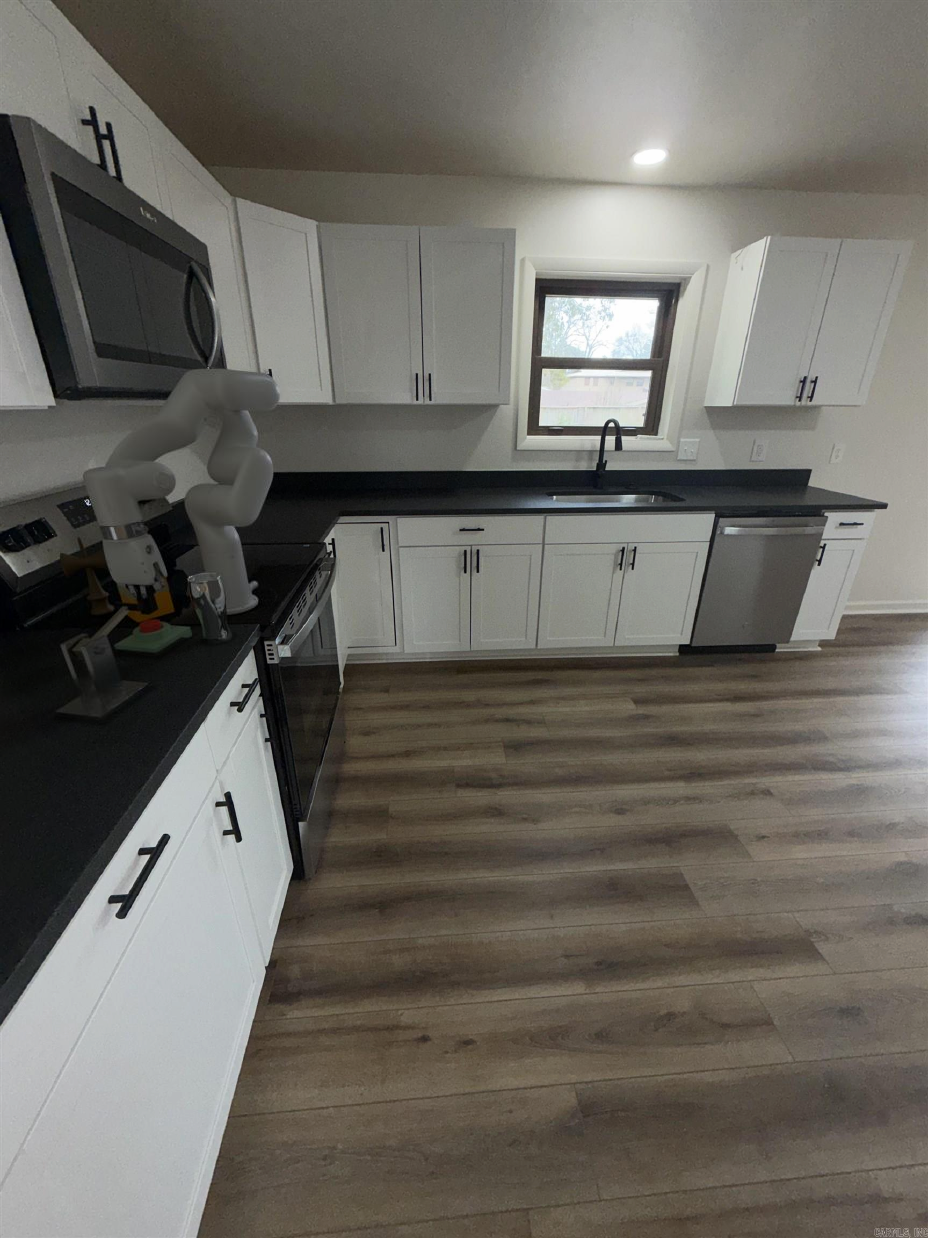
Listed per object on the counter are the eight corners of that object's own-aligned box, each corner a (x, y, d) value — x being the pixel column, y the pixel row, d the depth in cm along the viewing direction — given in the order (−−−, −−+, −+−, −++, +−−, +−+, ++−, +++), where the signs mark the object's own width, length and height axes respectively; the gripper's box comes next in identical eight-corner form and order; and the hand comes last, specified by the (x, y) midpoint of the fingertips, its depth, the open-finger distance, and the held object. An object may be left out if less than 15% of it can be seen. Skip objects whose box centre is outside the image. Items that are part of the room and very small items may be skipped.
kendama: (80, 613, 127) (53, 537, 118) (125, 605, 132) (102, 531, 123) (80, 621, 122) (52, 542, 114) (126, 612, 127) (102, 536, 119)
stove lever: (122, 607, 95) (115, 598, 93) (145, 609, 94) (138, 600, 92) (73, 658, 86) (64, 649, 84) (97, 661, 85) (89, 651, 83)
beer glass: (221, 646, 110) (207, 583, 104) (194, 644, 111) (178, 581, 105) (240, 633, 116) (228, 572, 110) (214, 630, 117) (200, 570, 111)
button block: (154, 632, 117) (149, 616, 115) (192, 635, 115) (188, 619, 113) (116, 654, 107) (111, 637, 105) (157, 657, 105) (152, 641, 104)
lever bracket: (109, 684, 96) (88, 624, 90) (150, 688, 94) (131, 628, 89) (57, 717, 86) (30, 652, 80) (102, 723, 84) (78, 657, 79)
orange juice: (175, 611, 127) (155, 535, 119) (137, 623, 121) (113, 543, 113) (162, 604, 132) (142, 530, 124) (125, 614, 126) (101, 537, 118)
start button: (150, 625, 112) (148, 618, 111) (166, 626, 111) (164, 619, 110) (136, 633, 108) (134, 625, 107) (153, 634, 107) (151, 627, 107)
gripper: (169, 526, 102) (192, 607, 111) (107, 524, 105) (133, 602, 113) (142, 537, 96) (168, 621, 104) (76, 534, 98) (106, 617, 106)
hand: (150, 611), depth 108 cm, fingers closed
